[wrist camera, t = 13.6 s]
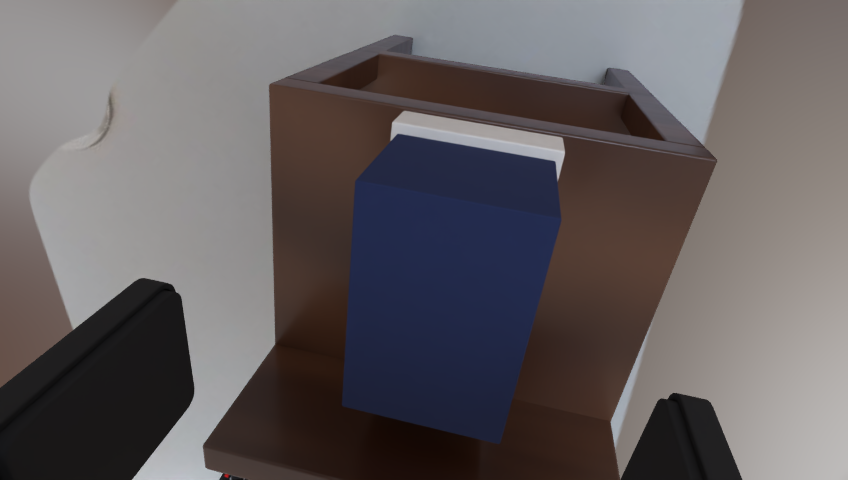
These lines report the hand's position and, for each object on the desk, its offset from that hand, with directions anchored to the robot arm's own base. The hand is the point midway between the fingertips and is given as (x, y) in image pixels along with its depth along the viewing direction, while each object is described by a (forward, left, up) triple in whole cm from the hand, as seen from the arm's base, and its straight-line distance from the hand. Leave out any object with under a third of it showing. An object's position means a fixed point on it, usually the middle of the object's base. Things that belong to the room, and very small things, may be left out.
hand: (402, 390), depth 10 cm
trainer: (+2, 0, -8) cm, 9 cm away
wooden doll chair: (+3, 0, -25) cm, 25 cm away
